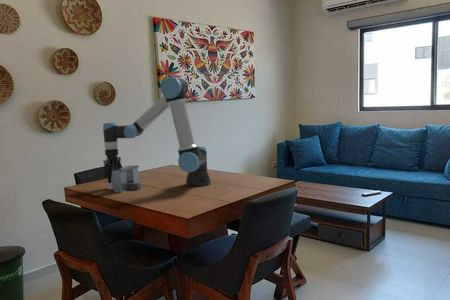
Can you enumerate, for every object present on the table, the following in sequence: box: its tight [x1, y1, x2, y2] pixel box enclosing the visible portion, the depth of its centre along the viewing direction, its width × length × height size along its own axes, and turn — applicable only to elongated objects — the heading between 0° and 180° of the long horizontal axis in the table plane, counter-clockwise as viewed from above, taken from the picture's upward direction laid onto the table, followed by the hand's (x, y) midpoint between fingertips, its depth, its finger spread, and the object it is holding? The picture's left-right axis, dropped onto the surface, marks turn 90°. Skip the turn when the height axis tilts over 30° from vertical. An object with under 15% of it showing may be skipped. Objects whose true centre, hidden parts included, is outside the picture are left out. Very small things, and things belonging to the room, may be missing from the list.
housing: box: [112, 164, 140, 194], centre depth 223 cm, size 6×18×13 cm, turn 160°
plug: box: [106, 172, 142, 191], centre depth 224 cm, size 20×5×10 cm, turn 70°
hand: (114, 186), depth 226 cm, fingers open, 6 cm apart
